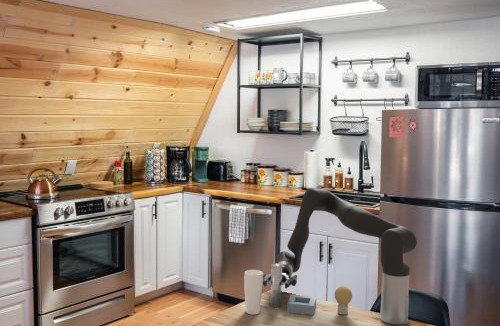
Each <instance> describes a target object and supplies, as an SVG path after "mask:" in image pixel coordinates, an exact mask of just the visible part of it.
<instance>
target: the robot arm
mask: <svg viewBox="0 0 500 326" xmlns="http://www.w3.org/2000/svg"><path fill="white" fill-rule="evenodd" d="M314 211H315V212H316V211H318V212H326V213H329V214H331V215H333V216H335V217H337V219H338V220H339V222H340V223H341V224H342V225H343V226H344V227H346V228H347V229H350V230H351V231H353V232H355V233H358V234H361V235H365V236H369V237H373V238H378V239H380V240H381V241H380V263H381V266H382V267H381V268H382V273H381V275H382V277H381V279H382V280H381V295H380V297H381V298H380V316H379V317H380V320H381V322H384V323H386V324H390V325H397V326H398V325H408V320H409V304H410V303H409V301H410V297H409V291H410V290H409V289H410V271H411V269H410V266H409V265H408V264H407V263H404V254H408V253H410V252H412V251H413V250H415V248H416V246H417V243H418V241H417V237H416V234H414V232H413V231H412V230H411V229H409V228H408V227H406V226H404V225H403V226H402V225H399V224H396V223H394V222H390V221H388V220H387V219H384V218H382V217H380V216H379V215H376V214H374V213H373V212H370V211H368V210H366V209H365V208H363V207H361V206H358V205H356V204H354V203H352V202H349V201H347V200H344V199H342V198H339V196H337V195H336V194H334V193H332V192H331V191H330V190H328V189H325V188H319V187H318V188H316V187H312V188H311V187H310V188H308V189H307V190H306V191H305V192H304V193H303V196H302V199H301V204H300V206H299V211H298V215H297V219H296V223H295V226H294V229H293V231H292V233H291V236H290V238H289V240H288V242H287V245H286V246H287V249H288V250H289V251H290V252H291V253H290V252H288V251H285V250H282V251H280V252H279V253H278V255H277V256H276V261H275V264H282V286H283V285H284V288H285V289H288V288H290V287H291V286H293V287H295V286H297V283H298V275H296V274H295V273H297V272H298V271H299V270H300V268H301V263H302V262H301V261H302V256H303V251H304V248H305V247H306V244H307V243H308V240H309V237H310V226H309V225H310V219H311V216H312V215H313V213H314ZM262 272H263V285H262V286H263V287H267V285H268V284H270V285H271V272H270V273H269V274H267V272H265V271H262ZM293 274H295V275H293Z"/></svg>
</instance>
